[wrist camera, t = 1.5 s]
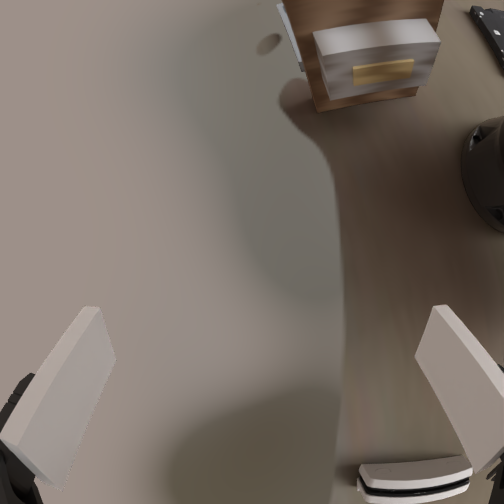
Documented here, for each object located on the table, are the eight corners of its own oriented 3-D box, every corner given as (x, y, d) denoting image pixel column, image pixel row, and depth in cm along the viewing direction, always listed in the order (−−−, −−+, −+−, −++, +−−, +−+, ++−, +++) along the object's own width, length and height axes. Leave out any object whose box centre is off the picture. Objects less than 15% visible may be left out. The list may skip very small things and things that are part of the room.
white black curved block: (354, 486, 33) (355, 514, 24) (359, 460, 35) (362, 483, 26) (454, 478, 28) (476, 499, 19) (460, 452, 30) (485, 468, 21)
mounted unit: (408, 80, 32) (432, -34, 12) (424, 116, 32) (469, 8, 12) (312, 97, 36) (274, -19, 16) (323, 134, 36) (294, 23, 16)
